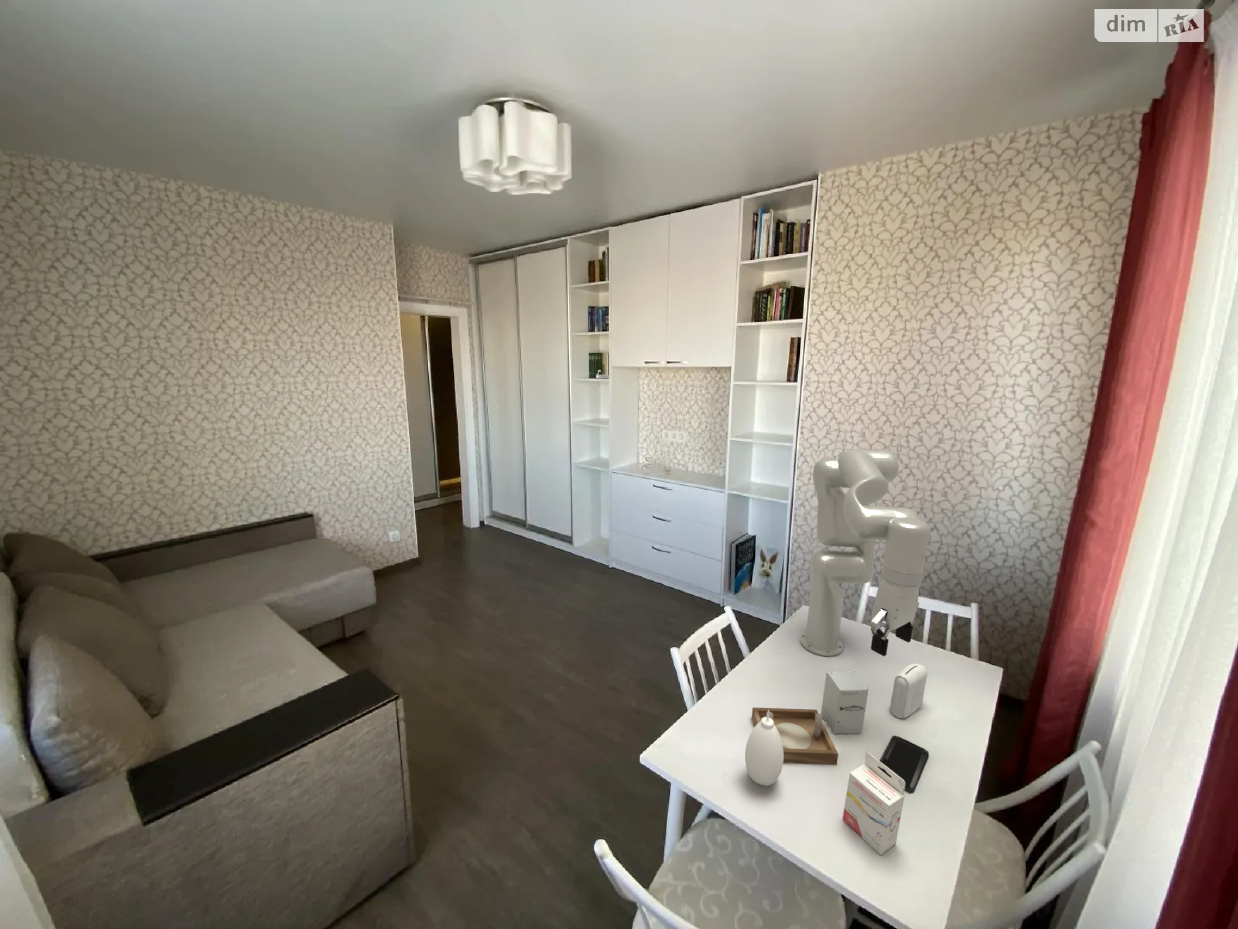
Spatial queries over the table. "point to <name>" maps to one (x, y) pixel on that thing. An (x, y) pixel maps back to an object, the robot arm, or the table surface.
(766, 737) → the air blower bulb
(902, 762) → the phone
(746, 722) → the table surface
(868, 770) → the ink cartridge box
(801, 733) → the caddy
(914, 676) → the white rounded block
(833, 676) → the supplement box
